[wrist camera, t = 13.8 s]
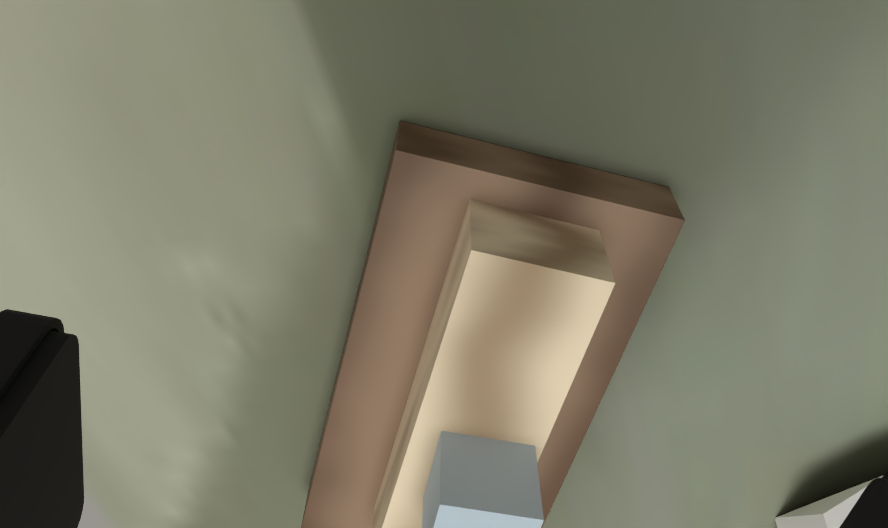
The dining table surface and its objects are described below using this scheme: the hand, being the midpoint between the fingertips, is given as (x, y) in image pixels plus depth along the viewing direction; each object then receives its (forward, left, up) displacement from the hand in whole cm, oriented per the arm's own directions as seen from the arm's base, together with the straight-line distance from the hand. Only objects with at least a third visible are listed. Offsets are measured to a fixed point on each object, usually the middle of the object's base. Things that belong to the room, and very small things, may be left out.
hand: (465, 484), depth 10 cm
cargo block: (-6, +18, -19) cm, 27 cm away
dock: (-5, +17, -26) cm, 32 cm away
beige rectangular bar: (-5, +17, -23) cm, 29 cm away
